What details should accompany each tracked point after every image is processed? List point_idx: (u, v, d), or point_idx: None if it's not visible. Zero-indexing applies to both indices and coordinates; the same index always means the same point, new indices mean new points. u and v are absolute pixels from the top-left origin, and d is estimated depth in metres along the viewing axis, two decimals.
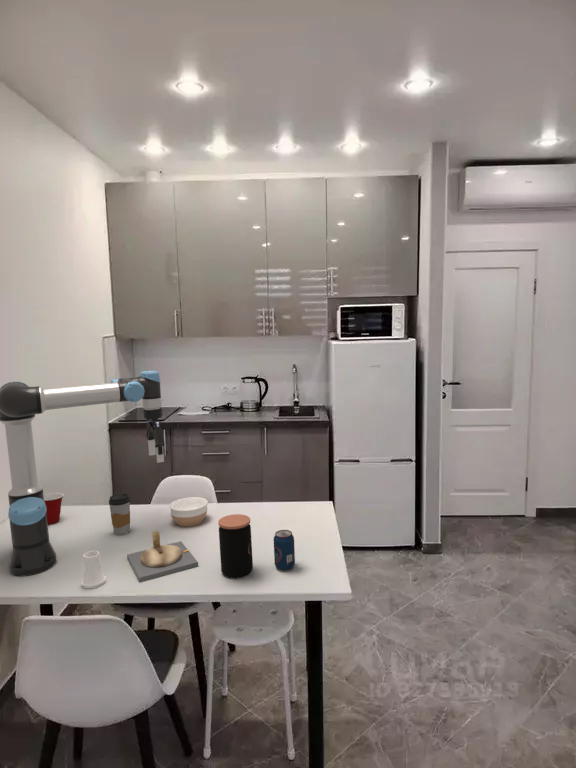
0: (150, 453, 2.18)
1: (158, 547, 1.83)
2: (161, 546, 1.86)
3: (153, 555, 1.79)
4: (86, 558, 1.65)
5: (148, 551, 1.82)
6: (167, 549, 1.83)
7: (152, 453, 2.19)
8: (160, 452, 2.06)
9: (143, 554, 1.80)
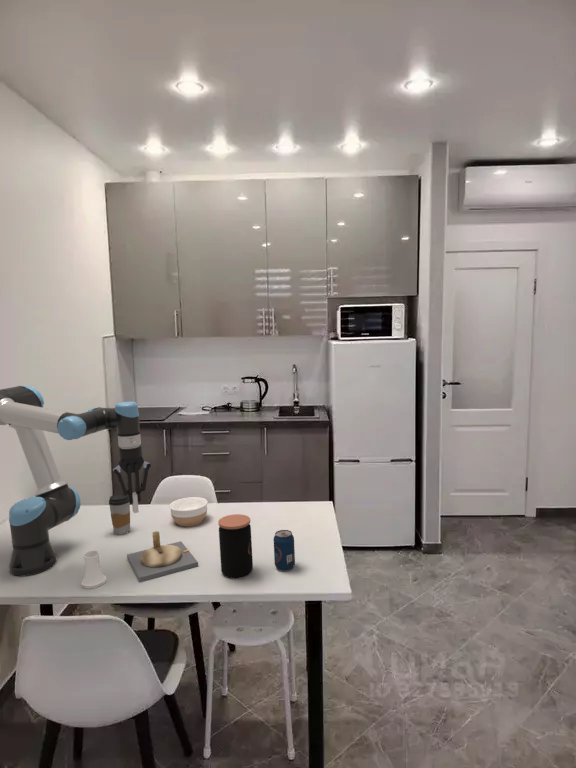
0: None
1: (158, 547, 1.83)
2: (161, 546, 1.86)
3: (153, 555, 1.79)
4: (86, 558, 1.65)
5: (148, 551, 1.82)
6: (167, 549, 1.83)
7: None
8: None
9: (143, 554, 1.80)
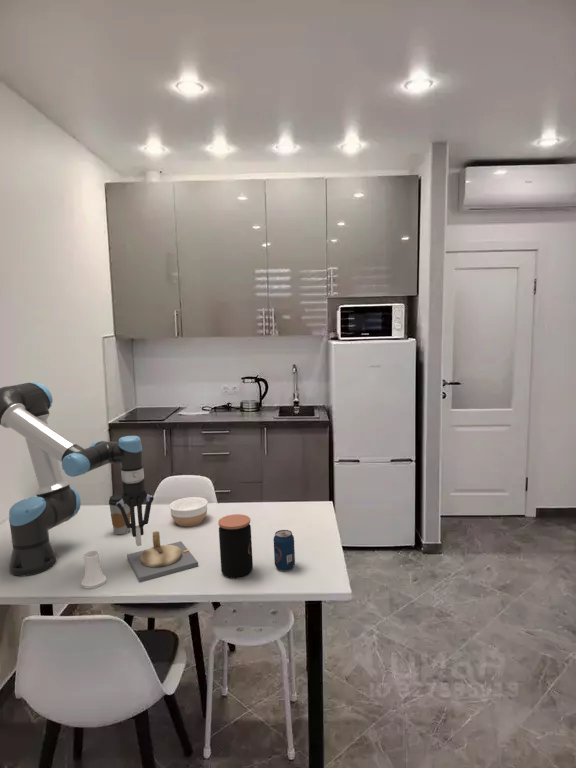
0: None
1: (158, 547, 1.83)
2: (161, 546, 1.86)
3: (153, 555, 1.79)
4: (86, 558, 1.65)
5: (148, 551, 1.82)
6: (167, 549, 1.83)
7: None
8: None
9: (143, 554, 1.80)
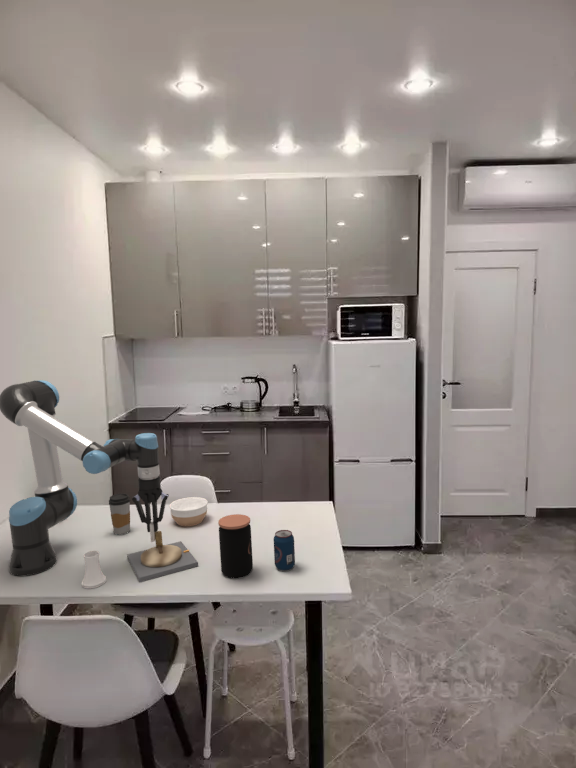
0: None
1: (159, 547, 1.84)
2: (163, 546, 1.86)
3: (153, 555, 1.79)
4: (86, 558, 1.65)
5: (149, 550, 1.83)
6: (168, 549, 1.83)
7: None
8: None
9: (144, 553, 1.81)
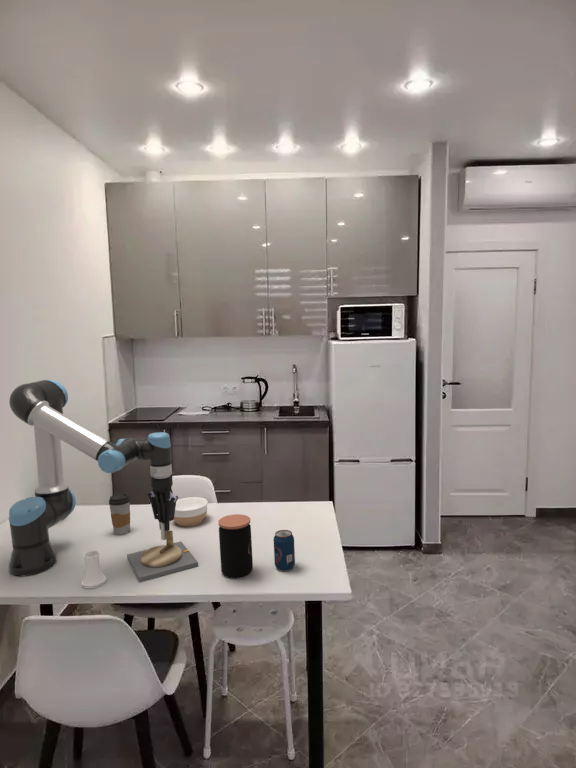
0: None
1: (166, 546, 1.84)
2: (173, 546, 1.85)
3: (154, 552, 1.81)
4: (86, 558, 1.65)
5: (159, 547, 1.85)
6: (171, 551, 1.81)
7: None
8: None
9: (152, 548, 1.85)
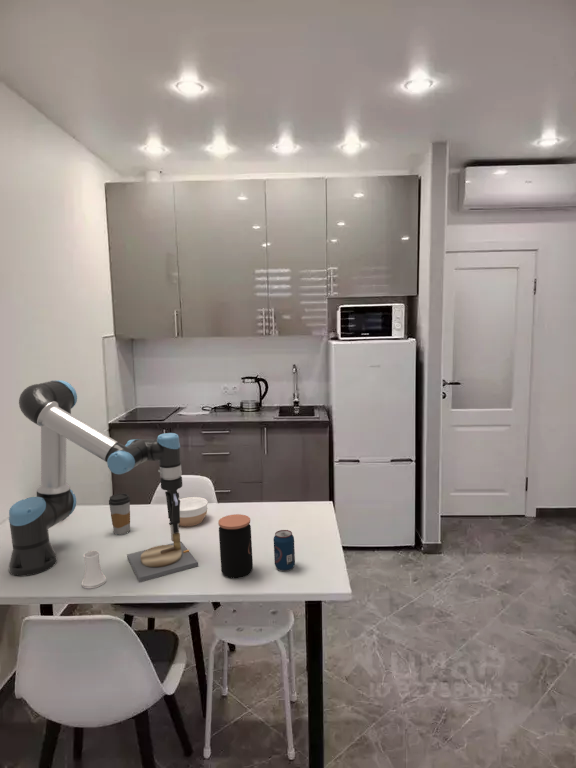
0: None
1: (171, 548, 1.82)
2: (178, 550, 1.82)
3: (158, 550, 1.82)
4: (86, 558, 1.65)
5: (169, 546, 1.85)
6: (169, 554, 1.79)
7: None
8: None
9: (163, 545, 1.86)
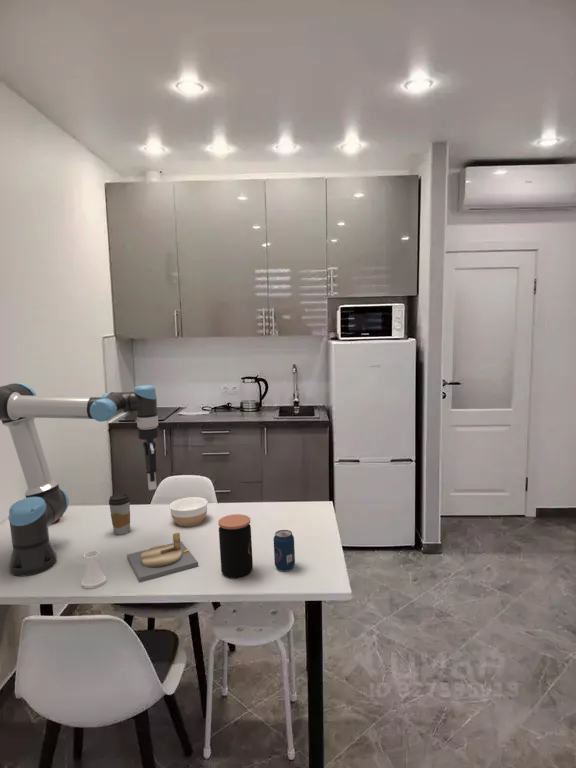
0: None
1: (171, 548, 1.82)
2: (178, 550, 1.82)
3: (158, 550, 1.82)
4: (86, 558, 1.65)
5: (169, 546, 1.85)
6: (169, 554, 1.79)
7: None
8: None
9: (163, 545, 1.86)
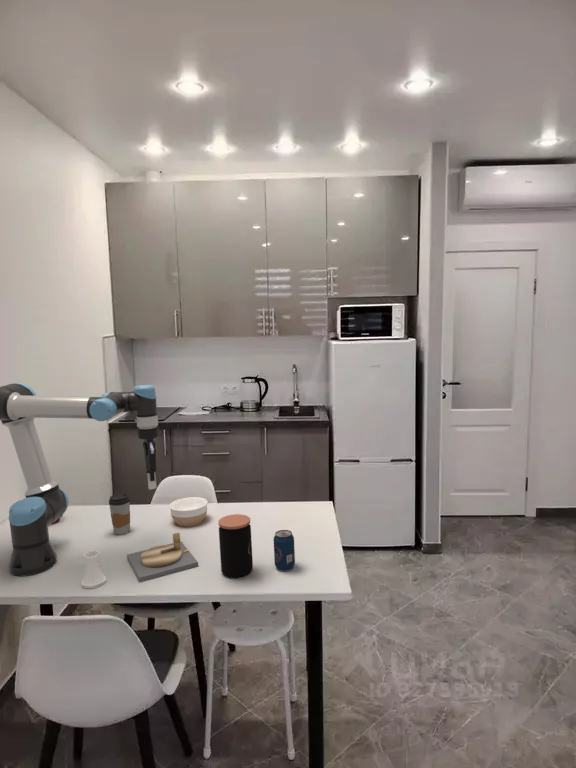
0: None
1: (171, 548, 1.82)
2: (178, 550, 1.82)
3: (158, 550, 1.82)
4: (86, 558, 1.65)
5: (169, 546, 1.85)
6: (169, 554, 1.79)
7: None
8: None
9: (163, 545, 1.86)
